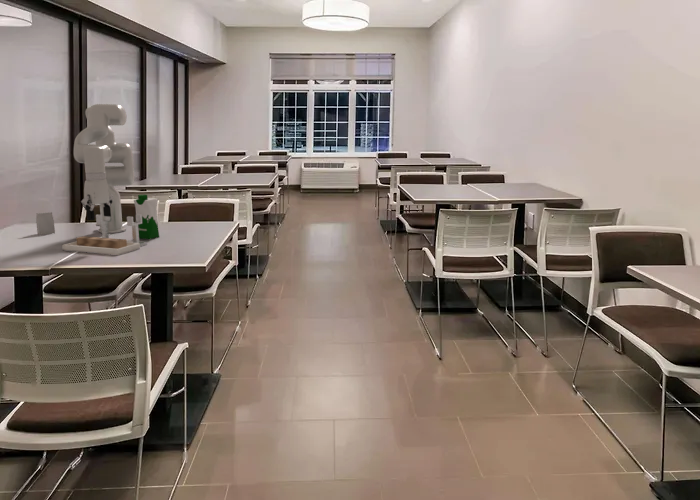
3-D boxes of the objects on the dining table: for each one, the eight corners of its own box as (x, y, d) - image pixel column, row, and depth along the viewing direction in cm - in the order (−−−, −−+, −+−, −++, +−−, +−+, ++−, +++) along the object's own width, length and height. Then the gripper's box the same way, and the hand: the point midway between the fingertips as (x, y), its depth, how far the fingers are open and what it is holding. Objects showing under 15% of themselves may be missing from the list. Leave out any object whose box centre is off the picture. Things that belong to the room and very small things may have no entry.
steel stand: (94, 244, 263) (92, 214, 260) (105, 241, 269) (103, 212, 267) (137, 247, 256) (134, 217, 253) (147, 244, 263) (145, 214, 260)
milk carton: (134, 238, 276) (131, 195, 272) (146, 235, 284) (144, 193, 280) (150, 239, 273) (147, 195, 269) (162, 236, 281) (159, 193, 277)
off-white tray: (63, 250, 249) (62, 244, 249) (86, 244, 262) (86, 239, 262) (118, 255, 241) (117, 249, 240) (140, 248, 254) (139, 243, 253)
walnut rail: (77, 247, 253) (76, 237, 252) (84, 245, 257) (83, 236, 256) (120, 250, 246) (119, 241, 246) (127, 249, 250) (126, 239, 249)
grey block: (55, 233, 289) (53, 212, 287) (39, 235, 284) (37, 214, 282) (52, 232, 291) (50, 211, 289) (37, 233, 287) (35, 213, 285)
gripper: (103, 174, 255) (106, 214, 258) (72, 178, 239) (76, 221, 242) (117, 175, 252) (120, 215, 256) (88, 179, 236) (91, 222, 240)
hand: (99, 218), depth 249 cm, fingers open, 9 cm apart
